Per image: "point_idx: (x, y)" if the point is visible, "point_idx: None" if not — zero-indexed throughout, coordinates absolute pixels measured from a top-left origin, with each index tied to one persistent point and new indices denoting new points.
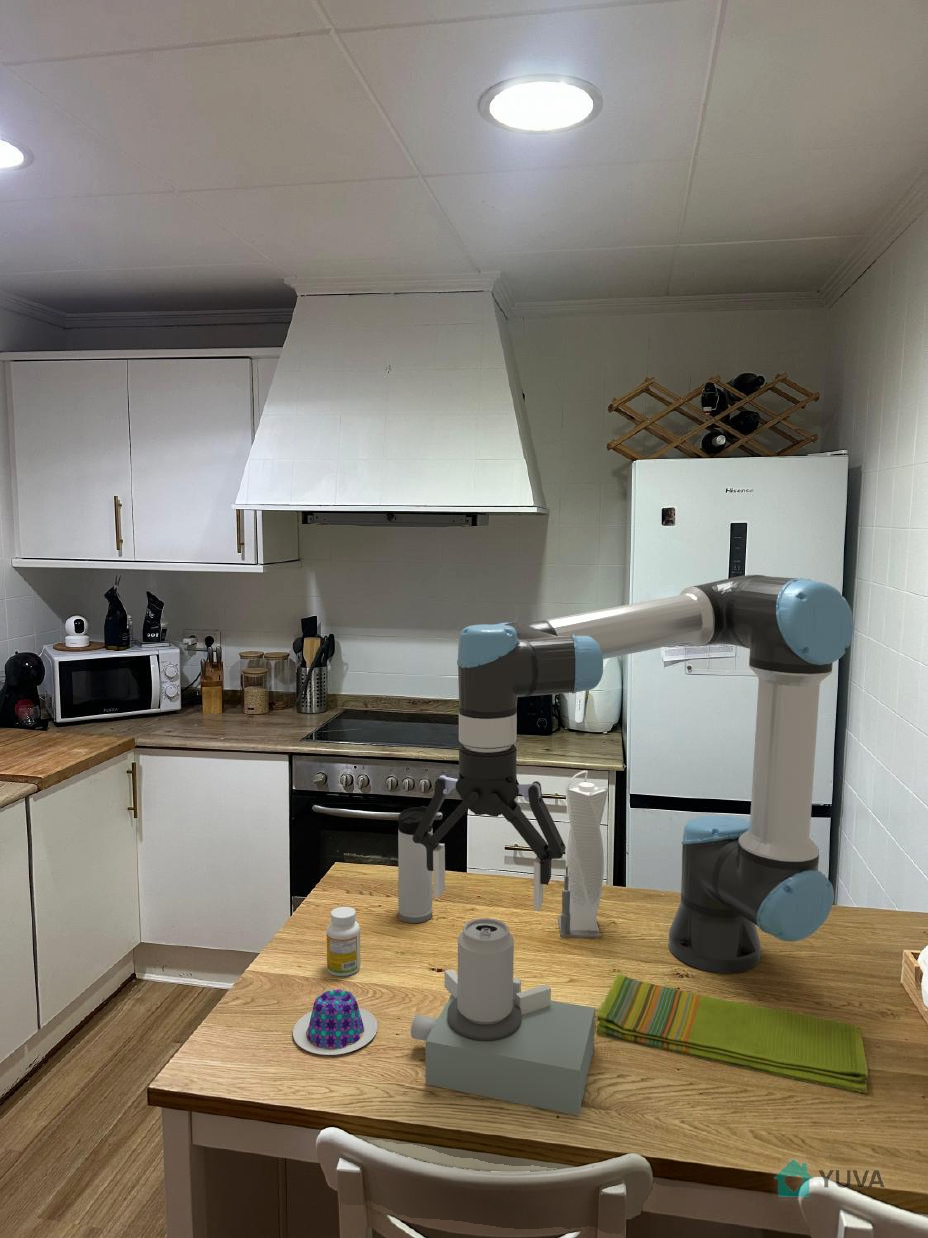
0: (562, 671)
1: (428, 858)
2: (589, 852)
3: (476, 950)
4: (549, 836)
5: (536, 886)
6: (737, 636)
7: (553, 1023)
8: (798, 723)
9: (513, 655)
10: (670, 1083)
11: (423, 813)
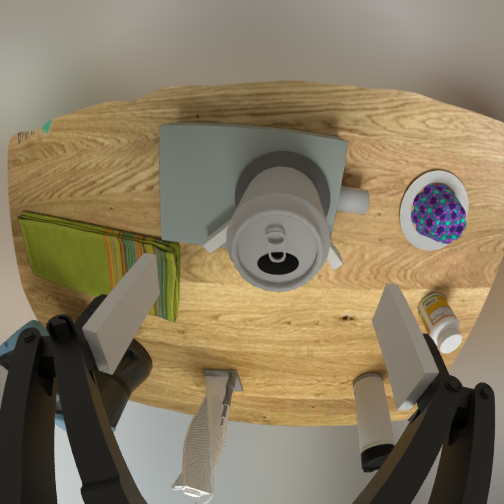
0: None
1: (437, 358)
2: (198, 436)
3: (288, 198)
4: (17, 383)
5: (122, 286)
6: None
7: (198, 202)
8: None
9: None
10: (113, 188)
11: (370, 466)
